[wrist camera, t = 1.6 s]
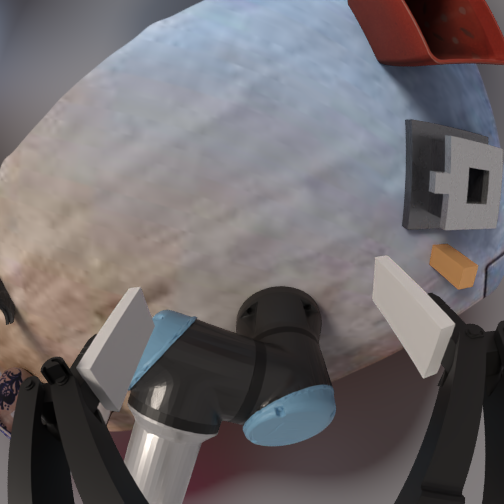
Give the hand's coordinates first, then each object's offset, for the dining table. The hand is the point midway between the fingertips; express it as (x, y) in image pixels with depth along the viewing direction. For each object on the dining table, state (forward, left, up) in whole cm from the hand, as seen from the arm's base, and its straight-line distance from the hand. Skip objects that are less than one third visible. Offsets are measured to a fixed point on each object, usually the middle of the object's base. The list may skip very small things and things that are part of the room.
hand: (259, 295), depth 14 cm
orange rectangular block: (-12, -35, -27) cm, 46 cm away
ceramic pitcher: (-52, +80, -28) cm, 99 cm away
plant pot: (+29, -25, -28) cm, 47 cm away
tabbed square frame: (+3, -35, -27) cm, 45 cm away
